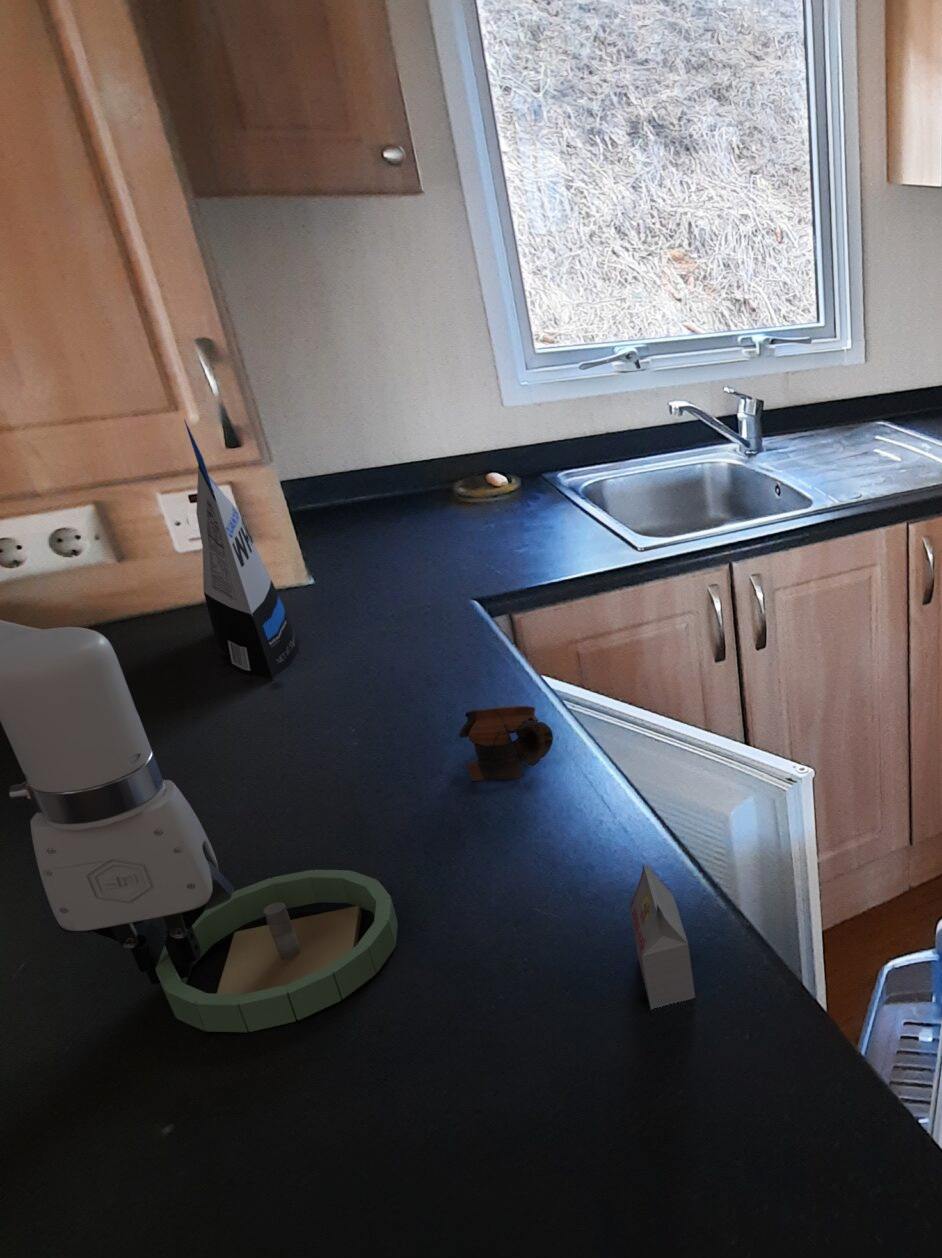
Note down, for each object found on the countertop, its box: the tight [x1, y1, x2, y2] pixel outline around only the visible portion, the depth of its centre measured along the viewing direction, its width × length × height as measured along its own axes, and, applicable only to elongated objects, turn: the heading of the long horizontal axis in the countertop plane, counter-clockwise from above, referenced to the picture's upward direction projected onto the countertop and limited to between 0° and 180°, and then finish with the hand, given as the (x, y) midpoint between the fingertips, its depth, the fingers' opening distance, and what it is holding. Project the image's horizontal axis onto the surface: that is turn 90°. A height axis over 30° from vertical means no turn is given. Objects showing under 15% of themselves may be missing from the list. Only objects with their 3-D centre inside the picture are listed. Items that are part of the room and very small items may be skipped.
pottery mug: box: [458, 705, 554, 782], centre depth 121 cm, size 12×10×8 cm
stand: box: [216, 902, 363, 994], centre depth 91 cm, size 10×10×6 cm
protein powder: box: [183, 418, 300, 681], centre depth 141 cm, size 10×24×30 cm, turn 38°
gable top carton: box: [629, 862, 696, 1011], centre depth 89 cm, size 4×7×10 cm, turn 24°
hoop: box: [156, 869, 399, 1033], centre depth 91 cm, size 17×17×3 cm
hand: (174, 969), depth 88 cm, fingers closed on hoop, 1 cm apart
